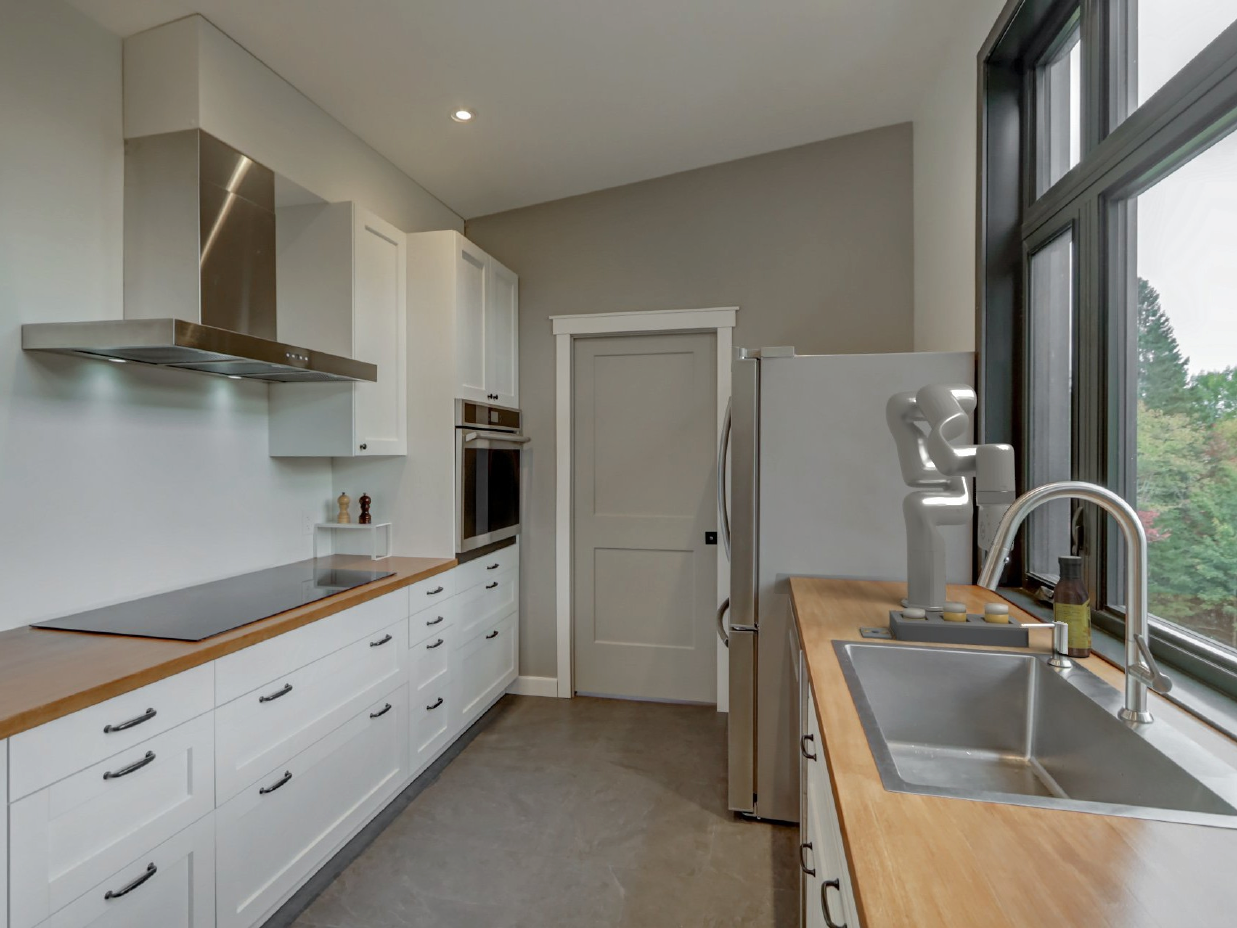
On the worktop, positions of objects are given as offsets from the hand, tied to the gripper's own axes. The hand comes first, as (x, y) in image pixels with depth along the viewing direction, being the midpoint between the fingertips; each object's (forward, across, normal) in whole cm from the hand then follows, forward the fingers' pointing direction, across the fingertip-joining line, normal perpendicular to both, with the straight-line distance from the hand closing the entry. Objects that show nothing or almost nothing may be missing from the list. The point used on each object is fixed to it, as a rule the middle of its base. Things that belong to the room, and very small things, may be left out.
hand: (997, 581), depth 146 cm
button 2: (+11, -1, 0) cm, 11 cm away
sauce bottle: (+13, +8, +11) cm, 19 cm away
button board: (+13, -1, -9) cm, 16 cm away
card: (+13, 0, -26) cm, 29 cm away
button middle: (+11, -1, -9) cm, 14 cm away
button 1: (+12, -1, -17) cm, 21 cm away
